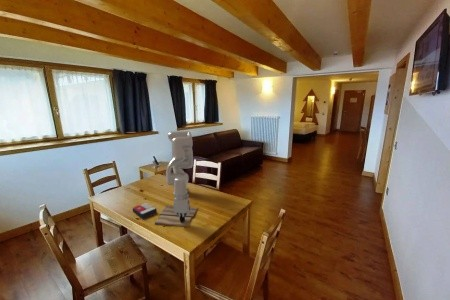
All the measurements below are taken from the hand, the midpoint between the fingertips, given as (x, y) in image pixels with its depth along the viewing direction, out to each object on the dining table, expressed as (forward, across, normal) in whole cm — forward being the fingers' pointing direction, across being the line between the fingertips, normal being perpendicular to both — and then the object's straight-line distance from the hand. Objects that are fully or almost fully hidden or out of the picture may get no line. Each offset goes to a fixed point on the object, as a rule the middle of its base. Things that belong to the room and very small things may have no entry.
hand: (182, 221), depth 140 cm
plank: (+1, +7, -1) cm, 7 cm away
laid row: (+1, +7, -13) cm, 15 cm away
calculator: (+2, +32, -10) cm, 33 cm away
